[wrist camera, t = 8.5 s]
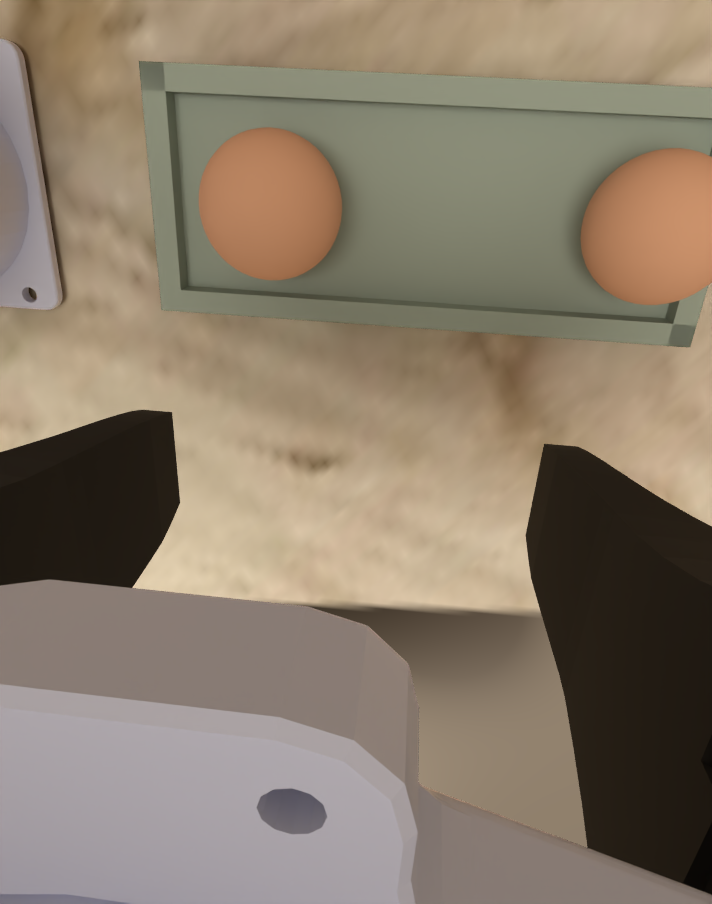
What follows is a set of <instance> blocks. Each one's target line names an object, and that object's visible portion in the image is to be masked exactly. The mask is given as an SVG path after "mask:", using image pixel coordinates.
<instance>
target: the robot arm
mask: <svg viewBox="0 0 712 904" xmlns="http://www.w3.org/2000/svg"><path fill="white" fill-rule="evenodd" d="M29 288H32V289H33V290H34V291H35V292H36V294H37V299H36V300H35V299H33V298H32V297H31V296H30V295H29V292H28V291H29ZM61 302H62V289H61V282H60V276H59V270H58V264H57V257H56V251H55V245H54V239H53V233H52V226H51V220H50V214H49V208H48V202H47V195H46V189H45V183H44V177H43V170H42V164H41V158H40V152H39V146H38V139H37V133H36V127H35V121H34V115H33V108H32V102H31V96H30V90H29V83H28V77H27V71H26V65H25V59H24V56H23V53H22V51H21V50H20V48H19V47H18V46H17V45H16V44H15V43H13V42H12V41H8V40H5V39H1V38H0V307H12V308H26V309H40V310H50V309H53V308H56V307H57V306H59V305H60V304H61ZM179 504H180V497H179V486H178V475H177V464H176V452H175V441H174V430H173V419H172V412H162V411H150V410H137V411H131V412H127V413H123V414H119V415H116V416H113V417H110V418H106V419H103V420H100V421H97V422H94V423H91V424H88V425H85V426H82V427H79V428H76V429H73V430H71V431H68V432H65V433H62V434H59V435H56V436H53V437H49V438H46V439H43V440H40V441H36V442H33V443H30V444H27V445H23V446H20V447H17V448H13V449H10V450H7V451H4V452H0V904H712V526H710V525H708V524H706V523H704V522H702V521H700V520H698V519H696V518H694V517H692V516H691V515H689V514H687V513H685V512H684V511H682V510H680V509H678V508H677V507H675V506H673V505H671V504H670V503H668V502H666V501H665V500H663V499H661V498H660V497H658V496H656V495H655V494H653V493H652V492H650V491H648V490H647V489H645V488H644V487H642V486H640V485H639V484H637V483H636V482H634V481H633V480H631V479H630V478H628V477H627V476H625V475H624V474H622V473H621V472H619V471H618V470H616V469H615V468H613V467H612V466H610V465H609V464H607V463H605V462H604V461H602V460H601V459H599V458H598V457H596V456H594V455H593V454H591V453H589V452H588V451H586V450H584V449H582V448H579V447H575V446H563V445H552V444H544V447H543V452H542V457H541V462H540V467H539V472H538V477H537V482H536V487H535V492H534V497H533V502H532V507H531V512H530V517H529V522H528V527H527V532H526V542H527V550H528V559H529V566H530V573H531V579H532V582H533V586H534V590H535V593H536V597H537V600H538V604H539V607H540V611H541V614H542V617H543V621H544V624H545V628H546V631H547V634H548V637H549V641H550V644H551V648H552V651H553V655H554V658H555V661H556V665H557V668H558V671H559V675H560V679H561V683H562V687H563V691H564V696H565V700H566V706H567V712H568V717H569V724H570V730H571V735H572V740H573V747H574V754H575V760H576V767H577V773H578V780H579V787H580V794H581V800H582V807H583V815H584V822H585V831H586V838H587V846H588V848H586V847H584V846H581V845H578V844H576V843H573V842H570V841H568V840H565V839H563V838H560V837H557V836H555V835H552V834H549V833H547V832H544V831H541V830H539V829H536V828H533V827H530V826H528V825H525V824H523V823H520V822H517V821H515V820H512V819H509V818H507V817H504V816H501V815H499V814H496V813H494V812H491V811H488V810H486V809H483V808H480V807H478V806H475V805H472V804H470V803H467V802H464V801H462V800H459V799H456V798H454V797H451V796H448V795H446V794H443V793H440V792H438V791H435V790H433V789H429V788H427V787H425V786H422V785H421V784H420V783H419V782H418V761H419V760H418V759H419V754H418V753H419V706H418V702H417V698H416V693H415V689H414V685H413V681H412V676H411V673H410V668H409V664H408V663H407V662H406V661H405V660H404V659H402V657H400V656H399V655H398V654H397V653H396V652H395V651H394V650H393V649H392V648H391V647H390V646H389V645H388V644H387V643H386V642H384V641H383V640H382V639H381V638H380V637H379V636H378V635H377V634H376V633H375V632H374V631H373V630H372V629H370V628H369V627H368V626H367V625H364V624H361V623H358V622H354V621H351V620H348V619H345V618H342V617H339V616H336V615H332V614H329V613H326V612H323V611H320V610H316V609H313V608H311V607H307V606H298V605H288V604H279V603H269V602H260V601H250V600H241V599H231V598H222V597H212V596H203V595H193V594H184V593H174V592H165V591H155V590H145V589H136V588H132V587H133V586H134V584H135V583H136V581H137V580H138V578H139V577H140V575H141V574H142V572H143V571H144V569H145V568H146V566H147V565H148V563H149V562H150V560H151V559H152V557H153V555H154V554H155V552H156V551H157V549H158V548H159V546H160V545H161V543H162V541H163V539H164V537H165V535H166V533H167V531H168V529H169V527H170V525H171V522H172V520H173V518H174V515H175V513H176V511H177V508H178V506H179Z"/></svg>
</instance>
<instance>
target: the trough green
mask: <svg viewBox="0 0 712 904" xmlns="http://www.w3.org/2000/svg"><path fill="white" fill-rule="evenodd" d="M139 68H140V79H141V90H142V101H143V112H144V123H145V134H146V145H147V156H148V167H149V178H150V188H151V199H152V210H153V221H154V232H155V243H156V254H157V265H158V276H159V287H160V298H161V309H162V310H166V311H180V312H194V313H209V314H223V315H237V316H251V317H265V318H280V319H294V320H308V321H322V322H336V323H350V324H365V325H379V326H393V327H407V328H421V329H436V330H450V331H464V332H478V333H492V334H507V335H521V336H535V337H549V338H563V339H578V340H592V341H606V342H620V343H634V344H649V345H663V346H677V347H690V346H691V342H692V339H693V335H694V332H695V329H696V325H697V322H698V318H699V315H700V312H701V308H702V305H703V302H704V298H705V295H706V291H707V288H708V285H707V286H706V287H705V288H703V289H702V290H700V291H699V292H697V293H695V294H693V295H691V296H689V297H687V298H684V299H682V300H679V301H675V302H672V303H667V304H660V305H641V304H634V303H630V302H627V301H624V300H621V299H619V298H617V297H615V296H613V295H612V294H610V293H608V292H607V291H605V290H604V289H603V288H602V287H601V286H600V285H599V284H598V283H597V282H596V281H595V279H594V278H593V277H592V276H591V274H590V272H589V270H588V269H587V267H586V264H585V261H584V258H583V255H582V250H581V239H580V238H581V227H582V222H583V218H584V214H585V211H586V209H587V206H588V204H589V202H590V200H591V198H592V196H593V195H594V193H595V192H596V190H597V189H598V187H599V186H600V185H601V184H602V183H603V181H604V180H605V179H606V178H607V177H608V176H609V175H610V174H611V173H613V172H614V171H615V170H616V169H617V168H619V167H620V166H621V165H623V164H625V163H626V162H628V161H629V160H631V159H633V158H635V157H638V156H640V155H642V154H645V153H648V152H651V151H655V150H660V149H668V148H683V149H690V150H694V151H698V152H701V153H704V154H706V155H708V156H711V157H712V88H708V87H686V86H665V85H643V84H621V83H600V82H578V81H556V80H535V79H513V78H492V77H470V76H448V75H427V74H405V73H383V72H362V71H340V70H318V69H297V68H275V67H253V66H232V65H210V64H188V63H167V62H145V61H139ZM265 127H271V128H279V129H283V130H287V131H290V132H292V133H295V134H297V135H299V136H301V137H302V138H304V139H306V140H307V141H309V142H310V143H311V144H312V145H314V146H315V147H316V148H317V149H318V150H319V151H320V152H321V153H322V154H323V155H324V157H325V158H326V159H327V161H328V162H329V164H330V166H331V167H332V169H333V171H334V173H335V176H336V178H337V180H338V184H339V187H340V191H341V198H342V217H341V223H340V228H339V231H338V234H337V237H336V239H335V241H334V243H333V245H332V247H331V249H330V250H329V252H328V253H327V255H326V256H325V257H324V258H323V259H322V260H321V261H320V262H319V263H318V264H317V265H316V266H314V267H313V268H312V269H310V270H308V271H307V272H305V273H303V274H301V275H299V276H297V277H293V278H290V279H285V280H263V279H258V278H254V277H251V276H248V275H246V274H244V273H242V272H240V271H238V270H236V269H235V268H233V267H232V266H231V265H229V264H228V263H227V262H226V261H225V260H224V259H223V258H222V257H221V256H220V255H219V254H218V253H217V251H216V250H215V249H214V247H213V246H212V244H211V243H210V241H209V239H208V237H207V235H206V233H205V231H204V228H203V225H202V221H201V217H200V212H199V188H200V183H201V179H202V175H203V172H204V170H205V167H206V165H207V164H208V162H209V160H210V158H211V157H212V156H213V154H214V153H215V152H216V151H217V149H218V148H219V147H220V146H221V145H222V144H223V143H225V142H226V141H227V140H229V139H230V138H231V137H233V136H235V135H237V134H239V133H241V132H244V131H247V130H250V129H256V128H265Z"/></svg>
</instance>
